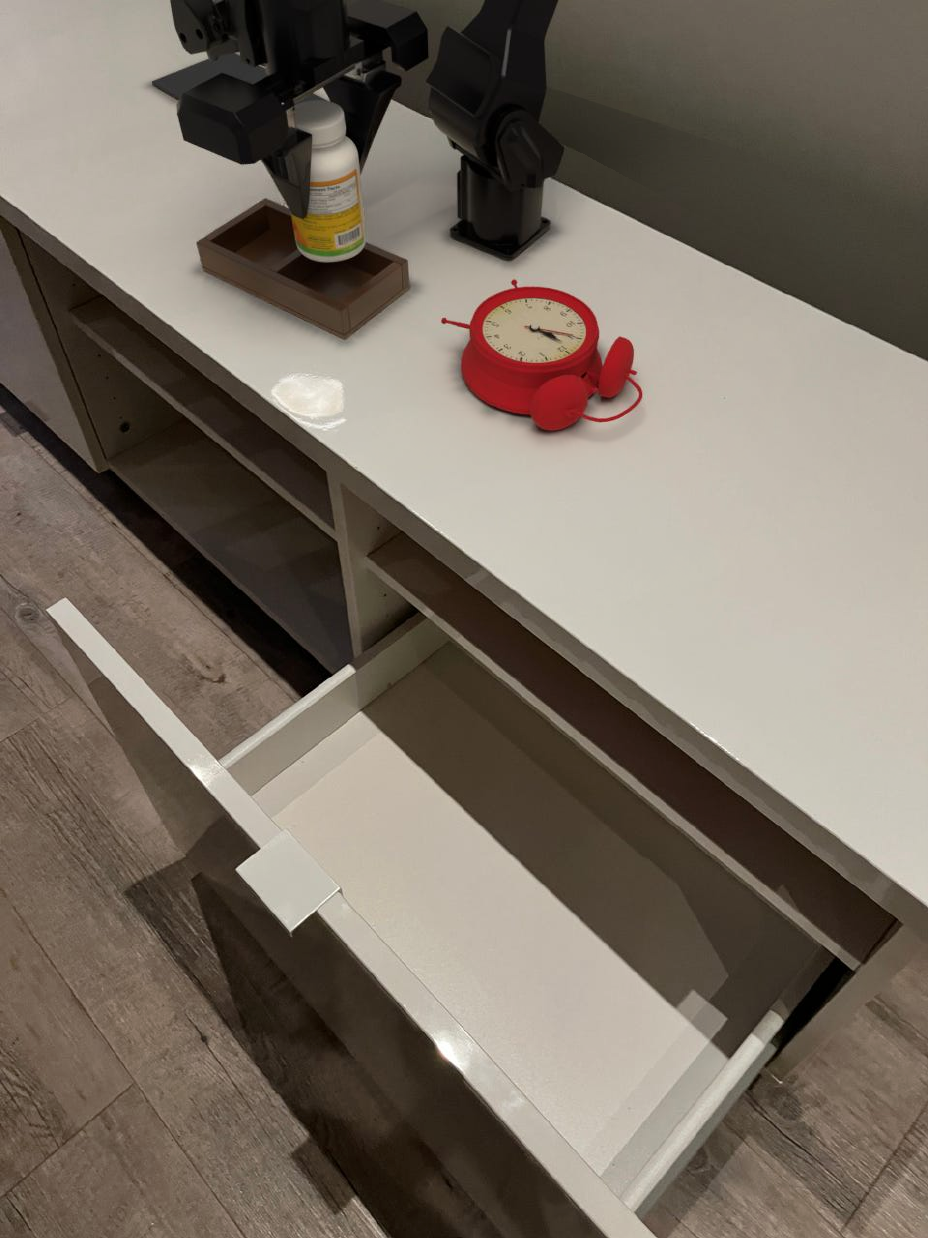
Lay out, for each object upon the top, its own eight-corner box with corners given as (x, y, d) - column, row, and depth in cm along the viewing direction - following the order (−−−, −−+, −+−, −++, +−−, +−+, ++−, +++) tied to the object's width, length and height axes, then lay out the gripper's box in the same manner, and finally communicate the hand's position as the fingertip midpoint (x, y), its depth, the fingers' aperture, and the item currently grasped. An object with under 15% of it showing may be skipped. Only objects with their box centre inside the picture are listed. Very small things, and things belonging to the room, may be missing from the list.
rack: (270, 226, 80) (265, 197, 78) (409, 288, 75) (408, 259, 73) (203, 270, 76) (195, 241, 74) (344, 339, 71) (340, 310, 69)
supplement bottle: (305, 222, 72) (285, 92, 64) (373, 227, 72) (361, 96, 64) (288, 261, 69) (265, 130, 61) (359, 267, 69) (344, 135, 61)
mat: (339, 110, 92) (339, 106, 92) (260, 147, 88) (259, 142, 88) (230, 53, 100) (229, 49, 99) (152, 85, 95) (151, 81, 95)
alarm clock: (524, 261, 70) (679, 311, 61) (532, 337, 75) (678, 393, 66) (420, 318, 66) (570, 380, 57) (435, 394, 71) (577, 463, 62)
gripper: (298, -122, 62) (327, 116, 75) (80, -32, 53) (155, 220, 66) (429, -87, 58) (436, 158, 71) (217, 16, 49) (269, 274, 62)
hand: (326, 198), depth 68 cm, fingers closed on supplement bottle, 5 cm apart
